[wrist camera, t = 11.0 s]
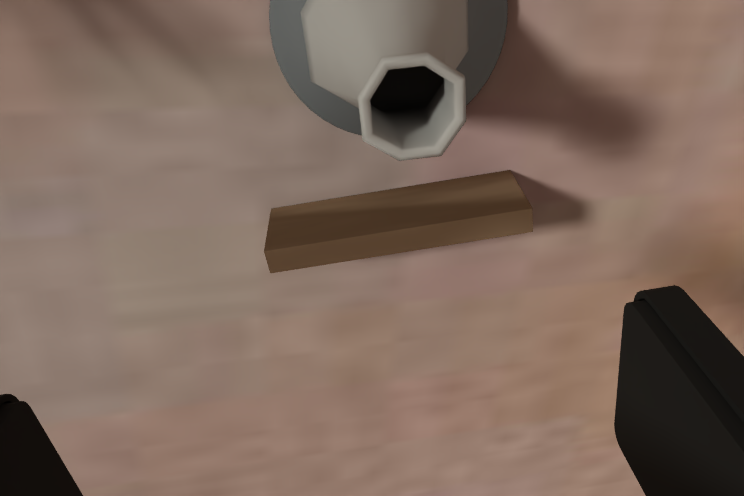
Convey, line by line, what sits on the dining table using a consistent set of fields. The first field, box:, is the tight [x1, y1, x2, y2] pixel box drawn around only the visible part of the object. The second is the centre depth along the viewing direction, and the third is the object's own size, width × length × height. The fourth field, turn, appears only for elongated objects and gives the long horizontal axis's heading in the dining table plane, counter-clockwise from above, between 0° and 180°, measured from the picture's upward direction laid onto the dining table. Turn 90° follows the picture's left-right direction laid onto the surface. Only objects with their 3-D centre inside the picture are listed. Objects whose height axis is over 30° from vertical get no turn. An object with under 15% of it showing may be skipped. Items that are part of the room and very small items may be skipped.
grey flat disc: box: [269, 0, 508, 135], centre depth 26 cm, size 10×10×1 cm
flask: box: [300, 0, 468, 161], centre depth 22 cm, size 7×7×10 cm
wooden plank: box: [264, 170, 533, 273], centre depth 29 cm, size 1×12×4 cm, turn 99°
